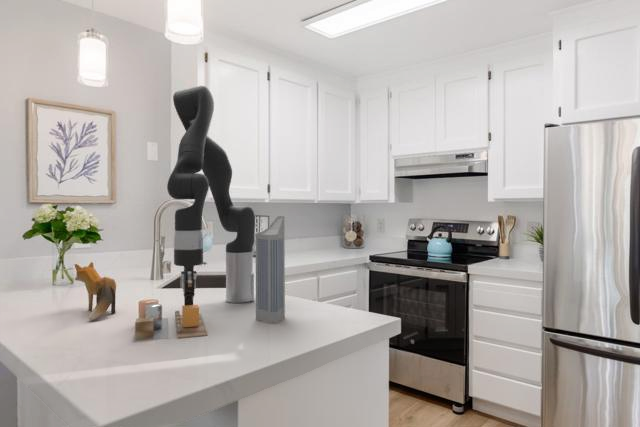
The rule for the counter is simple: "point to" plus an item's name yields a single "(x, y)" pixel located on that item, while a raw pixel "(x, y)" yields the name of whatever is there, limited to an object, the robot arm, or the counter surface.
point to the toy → (97, 290)
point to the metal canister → (155, 314)
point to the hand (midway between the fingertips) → (188, 311)
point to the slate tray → (157, 332)
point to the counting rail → (189, 328)
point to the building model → (270, 273)
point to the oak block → (144, 328)
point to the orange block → (190, 315)
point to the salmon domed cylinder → (143, 306)
